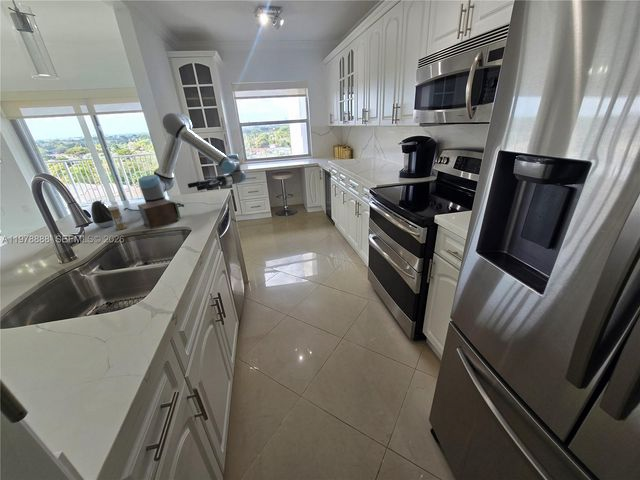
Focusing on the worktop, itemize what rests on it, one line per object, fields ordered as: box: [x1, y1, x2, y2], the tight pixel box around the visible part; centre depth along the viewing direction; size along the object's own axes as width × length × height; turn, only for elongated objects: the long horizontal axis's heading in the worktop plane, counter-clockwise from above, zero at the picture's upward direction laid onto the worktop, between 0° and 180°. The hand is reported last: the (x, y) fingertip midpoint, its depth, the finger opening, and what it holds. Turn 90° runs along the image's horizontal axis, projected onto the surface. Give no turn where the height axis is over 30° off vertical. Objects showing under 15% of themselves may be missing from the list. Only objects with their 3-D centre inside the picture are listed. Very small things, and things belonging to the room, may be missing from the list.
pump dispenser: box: [90, 199, 115, 228], centre depth 148 cm, size 10×10×15 cm
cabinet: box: [137, 198, 179, 229], centre depth 149 cm, size 15×13×12 cm
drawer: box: [167, 199, 185, 220], centre depth 153 cm, size 18×11×10 cm, turn 137°
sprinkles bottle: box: [107, 204, 127, 231], centre depth 143 cm, size 5×5×13 cm
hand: (192, 187), depth 160 cm, fingers open, 13 cm apart
